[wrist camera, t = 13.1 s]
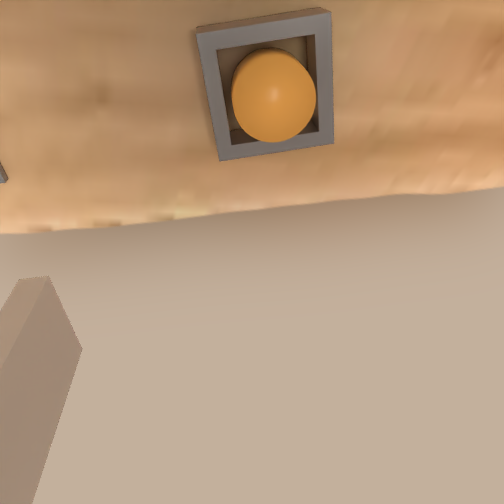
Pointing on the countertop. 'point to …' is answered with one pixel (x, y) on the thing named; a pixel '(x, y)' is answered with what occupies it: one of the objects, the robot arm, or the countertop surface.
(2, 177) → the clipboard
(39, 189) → the countertop surface
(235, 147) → the button housing
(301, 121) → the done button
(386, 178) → the countertop surface
